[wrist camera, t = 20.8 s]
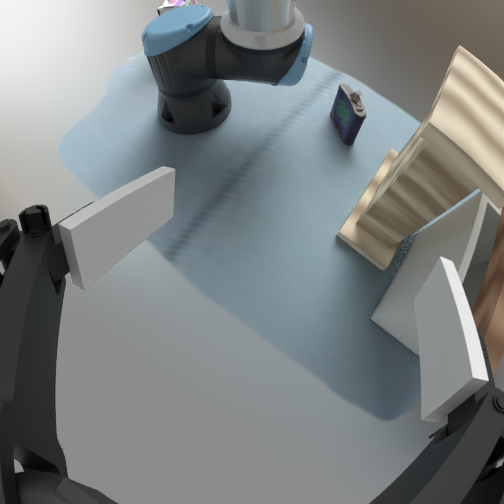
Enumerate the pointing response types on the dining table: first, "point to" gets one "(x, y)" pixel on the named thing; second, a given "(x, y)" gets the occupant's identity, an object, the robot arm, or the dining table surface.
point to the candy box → (174, 5)
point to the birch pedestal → (435, 163)
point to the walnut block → (492, 301)
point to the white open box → (426, 256)
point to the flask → (348, 113)
